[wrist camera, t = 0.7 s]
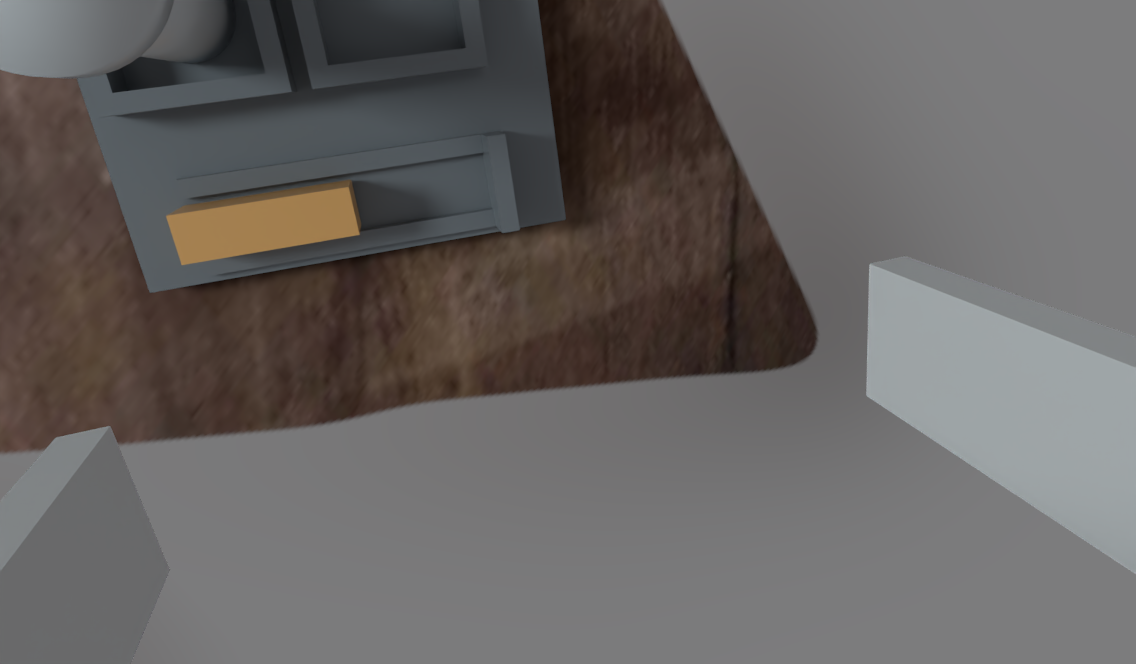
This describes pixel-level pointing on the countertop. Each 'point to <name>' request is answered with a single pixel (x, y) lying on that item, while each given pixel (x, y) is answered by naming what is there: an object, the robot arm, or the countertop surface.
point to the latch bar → (264, 221)
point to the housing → (306, 113)
